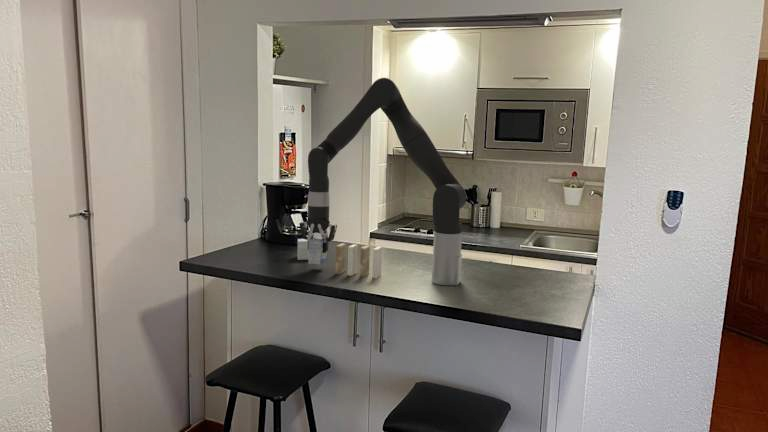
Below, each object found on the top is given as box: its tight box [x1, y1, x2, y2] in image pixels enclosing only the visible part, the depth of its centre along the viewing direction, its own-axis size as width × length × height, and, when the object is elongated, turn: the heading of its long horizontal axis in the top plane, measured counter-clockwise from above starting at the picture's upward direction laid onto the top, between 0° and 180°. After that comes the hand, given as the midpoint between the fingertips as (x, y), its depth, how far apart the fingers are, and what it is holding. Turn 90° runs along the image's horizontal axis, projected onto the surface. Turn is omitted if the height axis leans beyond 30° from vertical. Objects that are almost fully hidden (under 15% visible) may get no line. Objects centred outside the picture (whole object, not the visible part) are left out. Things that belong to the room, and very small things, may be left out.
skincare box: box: [297, 238, 309, 261], centre depth 227 cm, size 6×6×7 cm
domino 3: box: [359, 245, 371, 278], centre depth 203 cm, size 2×5×10 cm, turn 163°
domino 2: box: [347, 244, 359, 277], centre depth 204 cm, size 2×5×10 cm, turn 163°
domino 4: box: [371, 246, 383, 279], centre depth 202 cm, size 2×5×10 cm, turn 163°
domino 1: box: [335, 242, 347, 275], centre depth 206 cm, size 2×5×10 cm, turn 163°
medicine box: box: [308, 235, 328, 265], centre depth 208 cm, size 8×4×9 cm, turn 168°
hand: (317, 251), depth 208 cm, fingers closed on medicine box, 4 cm apart
